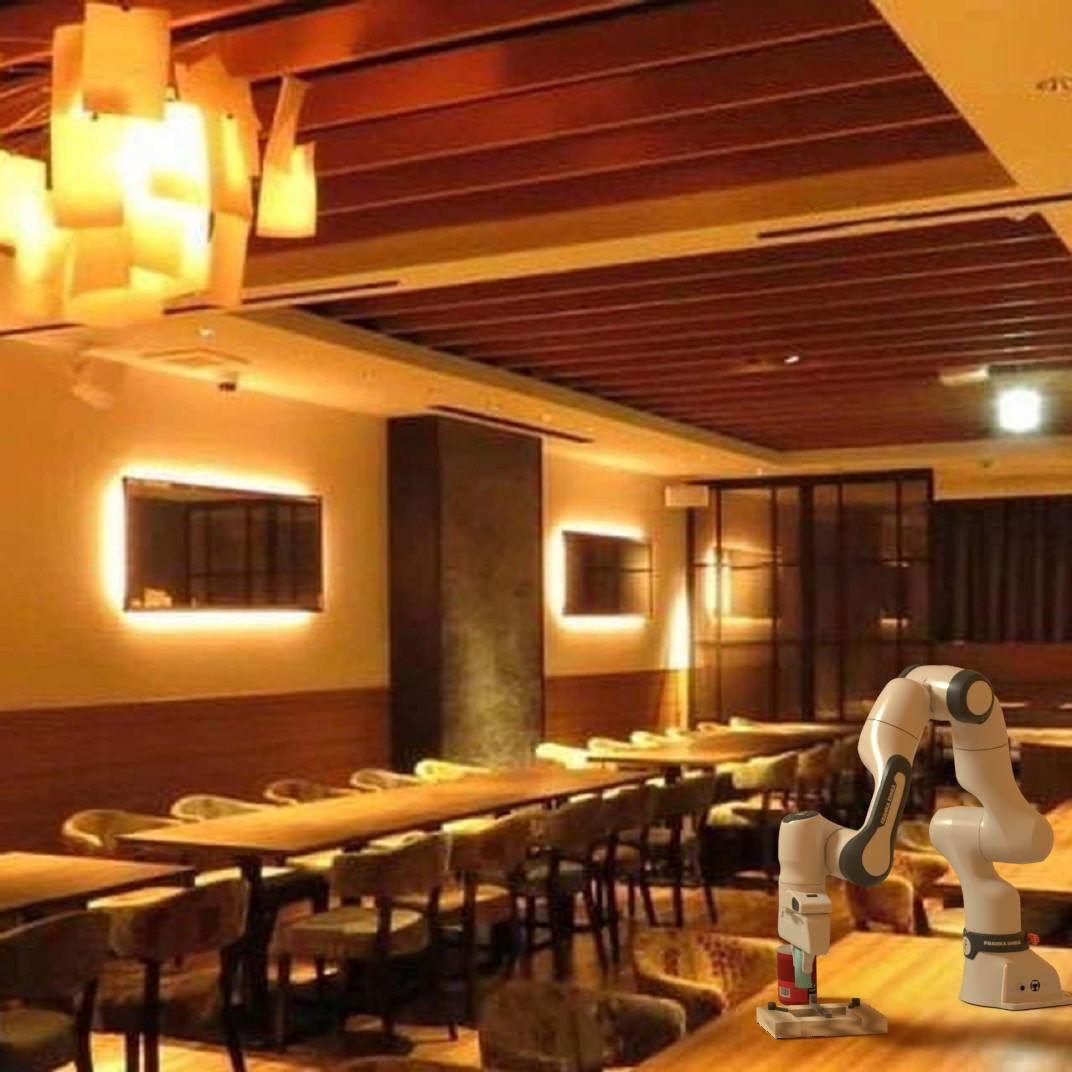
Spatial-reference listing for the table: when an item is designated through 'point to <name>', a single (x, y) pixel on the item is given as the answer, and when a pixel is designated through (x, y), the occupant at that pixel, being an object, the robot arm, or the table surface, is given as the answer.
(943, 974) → the table surface
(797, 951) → the pale green rounded block
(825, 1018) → the shelf
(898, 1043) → the table surface
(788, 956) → the canned food
